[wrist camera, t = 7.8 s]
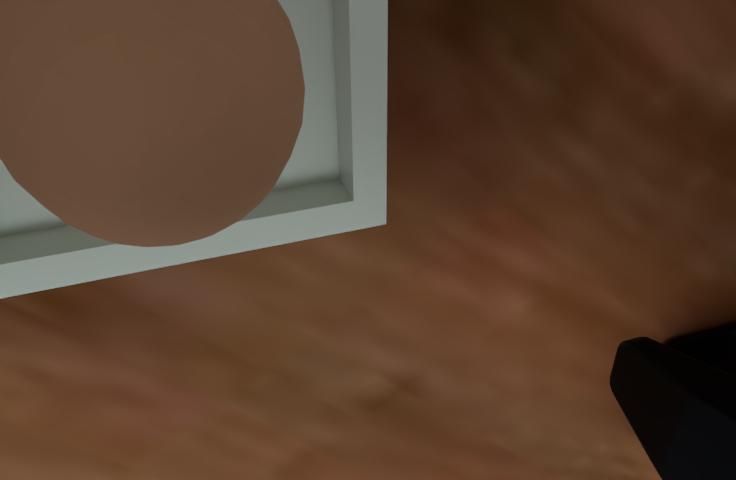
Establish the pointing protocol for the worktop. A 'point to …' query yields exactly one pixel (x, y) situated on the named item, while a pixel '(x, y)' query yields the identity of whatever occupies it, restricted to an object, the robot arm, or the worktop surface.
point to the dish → (292, 190)
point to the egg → (148, 111)
